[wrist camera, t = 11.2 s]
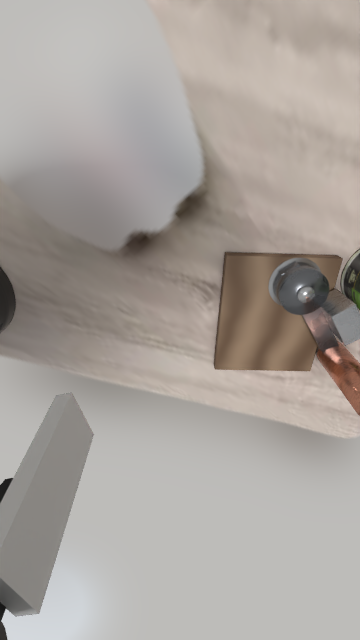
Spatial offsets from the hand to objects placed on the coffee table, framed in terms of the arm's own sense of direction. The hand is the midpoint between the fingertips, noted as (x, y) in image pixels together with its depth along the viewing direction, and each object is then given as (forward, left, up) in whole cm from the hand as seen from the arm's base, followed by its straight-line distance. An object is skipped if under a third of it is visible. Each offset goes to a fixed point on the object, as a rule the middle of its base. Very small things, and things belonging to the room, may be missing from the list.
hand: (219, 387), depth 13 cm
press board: (+12, -10, -29) cm, 33 cm away
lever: (+18, -10, -27) cm, 34 cm away
